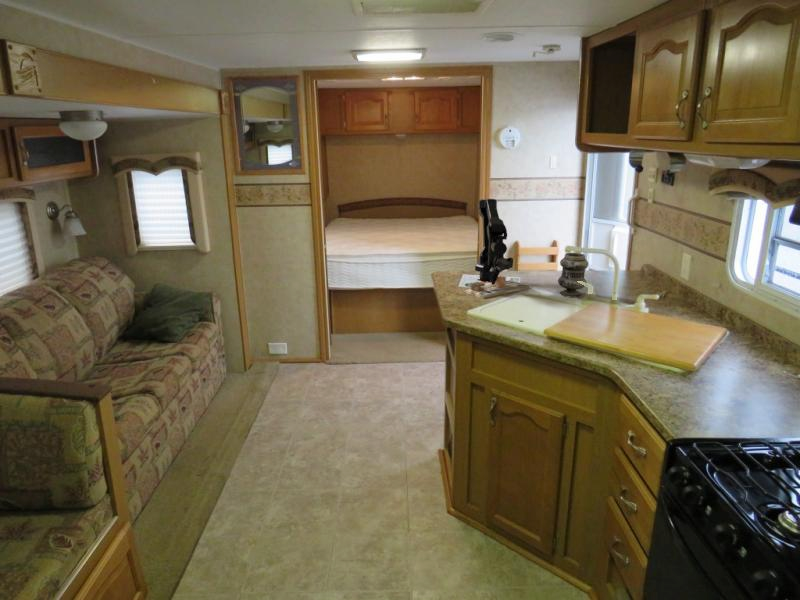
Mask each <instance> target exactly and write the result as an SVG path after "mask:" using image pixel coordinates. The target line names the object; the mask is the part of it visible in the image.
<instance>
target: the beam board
mask: <svg viewBox="0 0 800 600" xmlns="http://www.w3.org/2000/svg"><path fill="white" fill-rule="evenodd" d="M506 282H508V283H512V285H509V284H505V285H504V286H500V287H499V286H496V285H492V284H491V283H490V284H487V285H484V287H487V288H490V290H487V289H484V290H482V291H478V292H477V291H474V290H471V288H469V289H464V293H465V294H469V295H470V296H475V297H478V298H481V299H488V298H492V297H495V296H501V295H505V294H510V293H514V292H517V291H516V290H518V291H522V290H521V289H523V290H525V288H527V289H530V288H531V285H529V284H526V283H521V282H518V281H514V280H507V281H506ZM529 287H530V288H529ZM513 291H514V292H513Z"/></svg>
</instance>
